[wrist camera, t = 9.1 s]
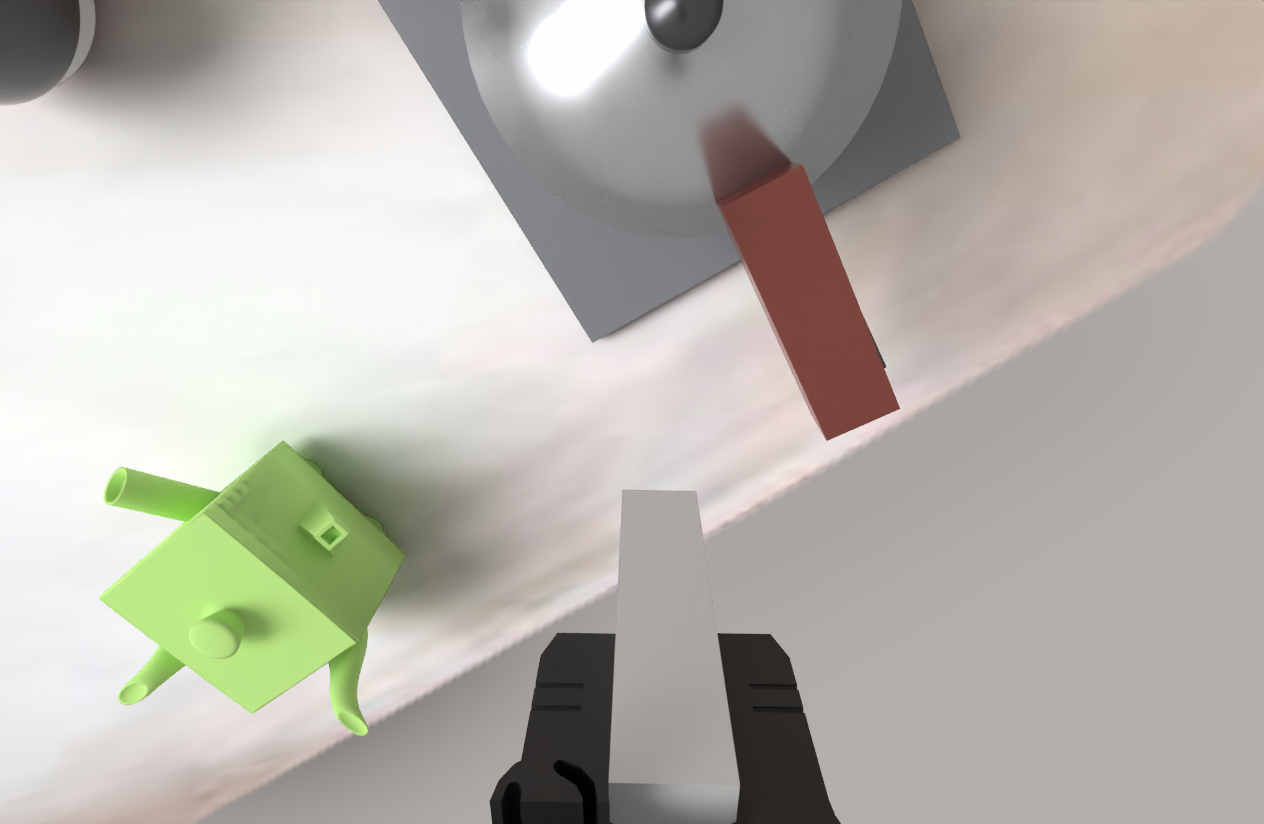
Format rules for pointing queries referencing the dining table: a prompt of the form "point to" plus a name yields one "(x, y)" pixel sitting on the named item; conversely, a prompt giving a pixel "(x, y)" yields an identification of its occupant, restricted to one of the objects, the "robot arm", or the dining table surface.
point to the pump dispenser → (42, 45)
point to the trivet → (648, 265)
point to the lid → (706, 144)
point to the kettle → (255, 582)
